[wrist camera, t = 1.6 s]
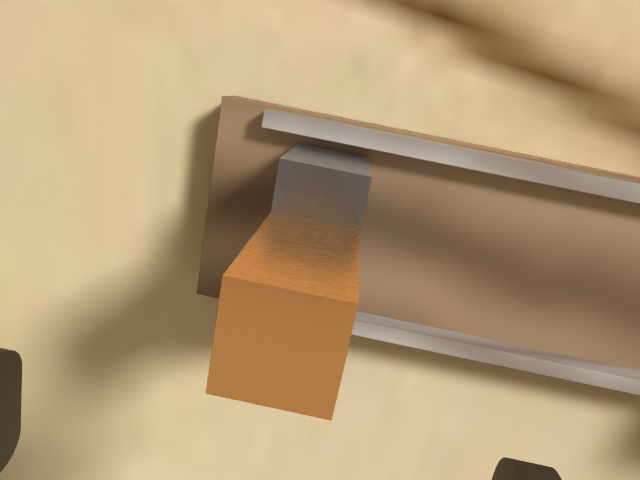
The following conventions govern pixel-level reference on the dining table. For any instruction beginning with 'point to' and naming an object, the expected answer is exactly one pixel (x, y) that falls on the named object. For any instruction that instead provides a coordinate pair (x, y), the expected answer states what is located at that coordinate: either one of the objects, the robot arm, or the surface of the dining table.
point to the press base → (457, 243)
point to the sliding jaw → (295, 288)
